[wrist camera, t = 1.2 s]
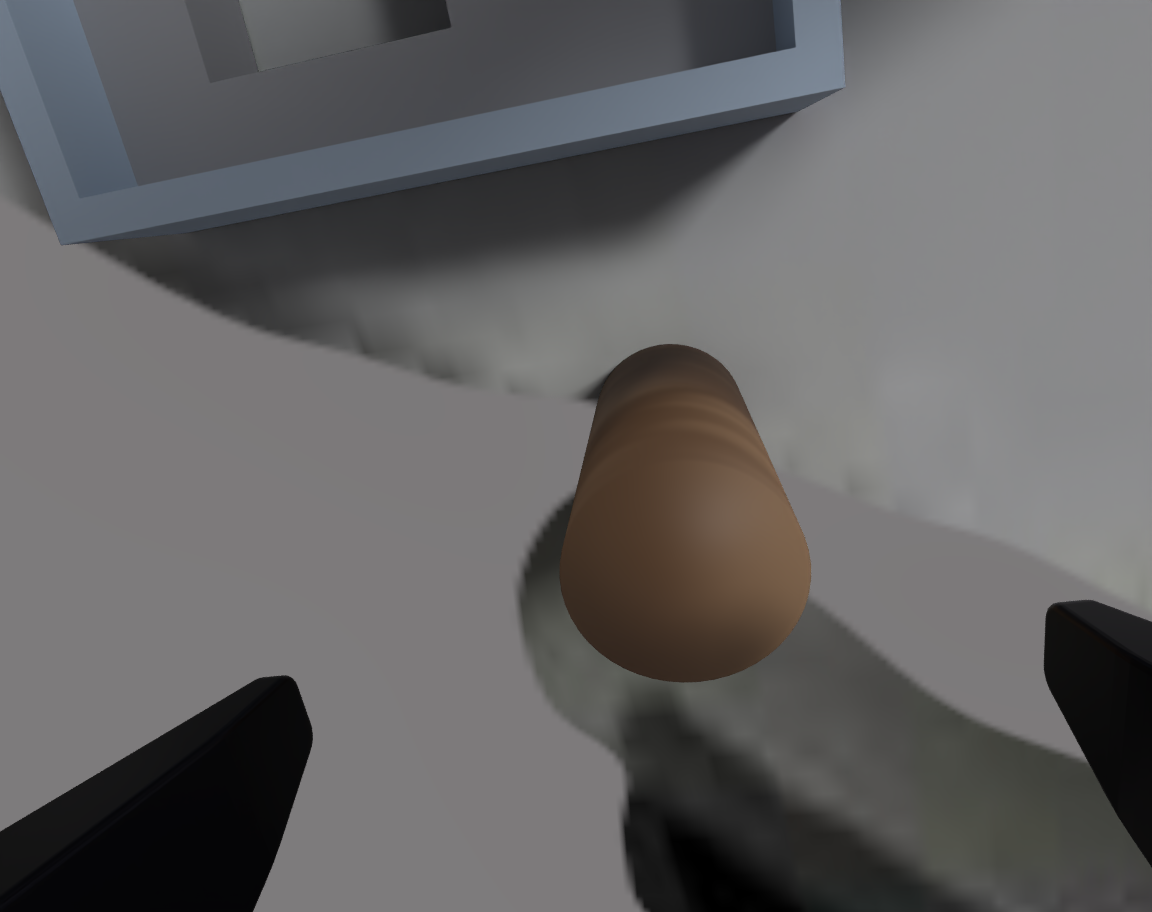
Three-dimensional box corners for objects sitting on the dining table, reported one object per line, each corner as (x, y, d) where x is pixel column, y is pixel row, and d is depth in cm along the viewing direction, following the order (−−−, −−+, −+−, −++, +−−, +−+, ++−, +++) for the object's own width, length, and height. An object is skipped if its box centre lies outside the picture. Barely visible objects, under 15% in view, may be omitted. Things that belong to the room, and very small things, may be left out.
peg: (735, 333, 19) (800, 444, 11) (750, 473, 21) (819, 670, 12) (584, 356, 20) (538, 479, 12) (609, 492, 21) (582, 691, 13)
